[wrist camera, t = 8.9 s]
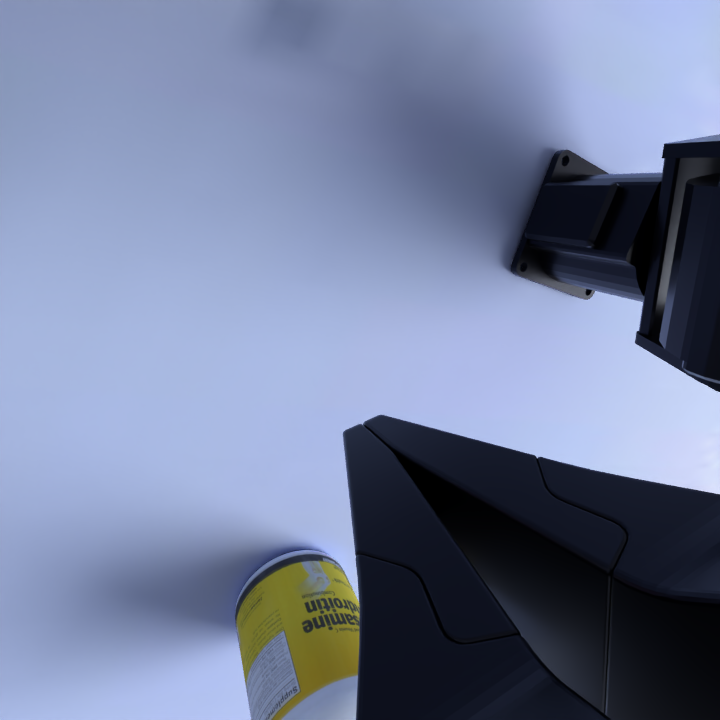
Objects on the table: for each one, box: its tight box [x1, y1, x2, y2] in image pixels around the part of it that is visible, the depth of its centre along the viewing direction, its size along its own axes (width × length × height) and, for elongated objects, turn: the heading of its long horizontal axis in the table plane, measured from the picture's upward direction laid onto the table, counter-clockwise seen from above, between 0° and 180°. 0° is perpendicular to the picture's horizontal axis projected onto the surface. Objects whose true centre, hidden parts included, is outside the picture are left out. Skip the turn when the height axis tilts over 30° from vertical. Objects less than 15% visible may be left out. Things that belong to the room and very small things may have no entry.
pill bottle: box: [235, 550, 360, 720], centre depth 20 cm, size 6×6×12 cm
